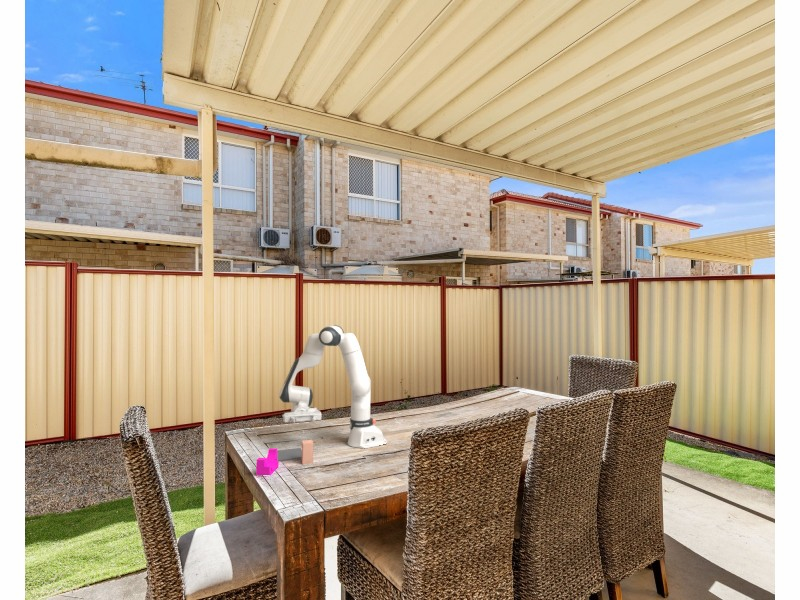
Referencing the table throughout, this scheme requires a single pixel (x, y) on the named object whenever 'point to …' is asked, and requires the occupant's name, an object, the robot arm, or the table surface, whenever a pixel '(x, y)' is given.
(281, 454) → the mat
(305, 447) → the pillar block
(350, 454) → the table surface
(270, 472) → the toy block
